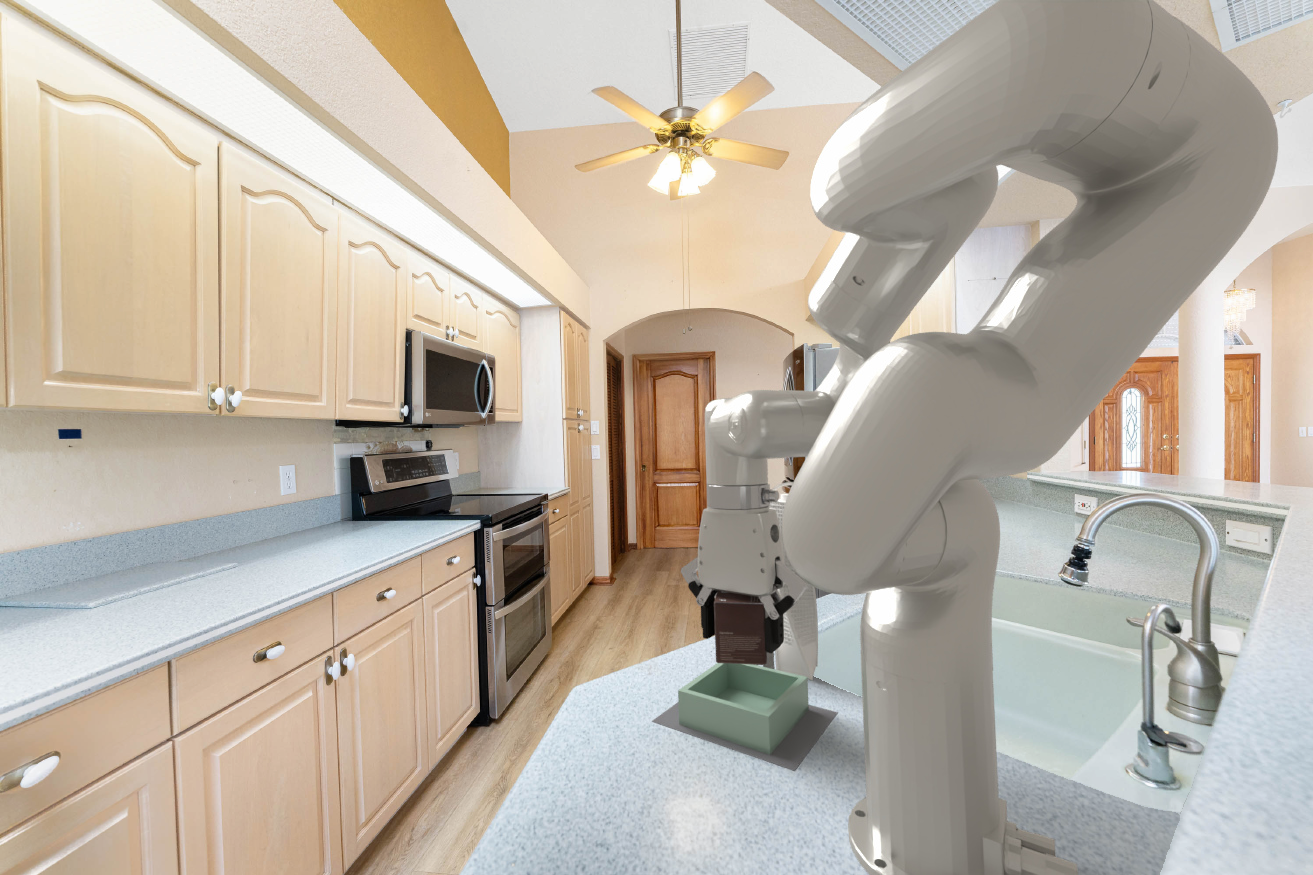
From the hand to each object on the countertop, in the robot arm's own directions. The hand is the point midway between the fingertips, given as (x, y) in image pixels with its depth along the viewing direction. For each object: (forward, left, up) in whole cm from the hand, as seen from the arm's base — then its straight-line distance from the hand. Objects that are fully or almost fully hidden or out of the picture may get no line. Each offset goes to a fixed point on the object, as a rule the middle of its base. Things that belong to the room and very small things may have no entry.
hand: (741, 641), depth 65 cm
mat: (0, 0, -9) cm, 9 cm away
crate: (0, 0, -9) cm, 9 cm away
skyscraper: (0, -16, -10) cm, 19 cm away
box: (0, 0, -2) cm, 2 cm away
